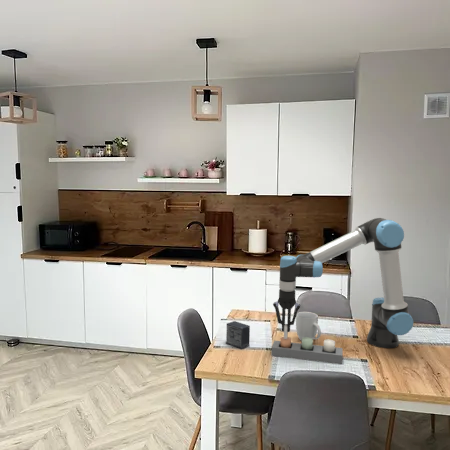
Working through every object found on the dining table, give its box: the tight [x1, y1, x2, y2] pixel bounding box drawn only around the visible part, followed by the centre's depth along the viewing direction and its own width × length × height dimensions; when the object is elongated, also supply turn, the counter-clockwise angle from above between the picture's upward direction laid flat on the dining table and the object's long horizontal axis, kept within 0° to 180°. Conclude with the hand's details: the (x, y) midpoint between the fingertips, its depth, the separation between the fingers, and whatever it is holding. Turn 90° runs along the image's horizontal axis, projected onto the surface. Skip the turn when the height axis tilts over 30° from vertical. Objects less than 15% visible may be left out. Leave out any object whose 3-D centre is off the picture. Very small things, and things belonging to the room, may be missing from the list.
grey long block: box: [270, 340, 343, 365], centre depth 202 cm, size 32×9×4 cm, turn 75°
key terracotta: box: [279, 336, 292, 348], centre depth 204 cm, size 5×5×4 cm
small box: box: [225, 320, 251, 350], centre depth 214 cm, size 11×6×10 cm, turn 47°
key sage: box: [301, 337, 314, 349], centre depth 202 cm, size 5×5×4 cm
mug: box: [295, 311, 322, 342], centre depth 221 cm, size 15×11×13 cm
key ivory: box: [323, 338, 336, 352], centre depth 199 cm, size 5×5×4 cm
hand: (285, 338), depth 204 cm, fingers closed
